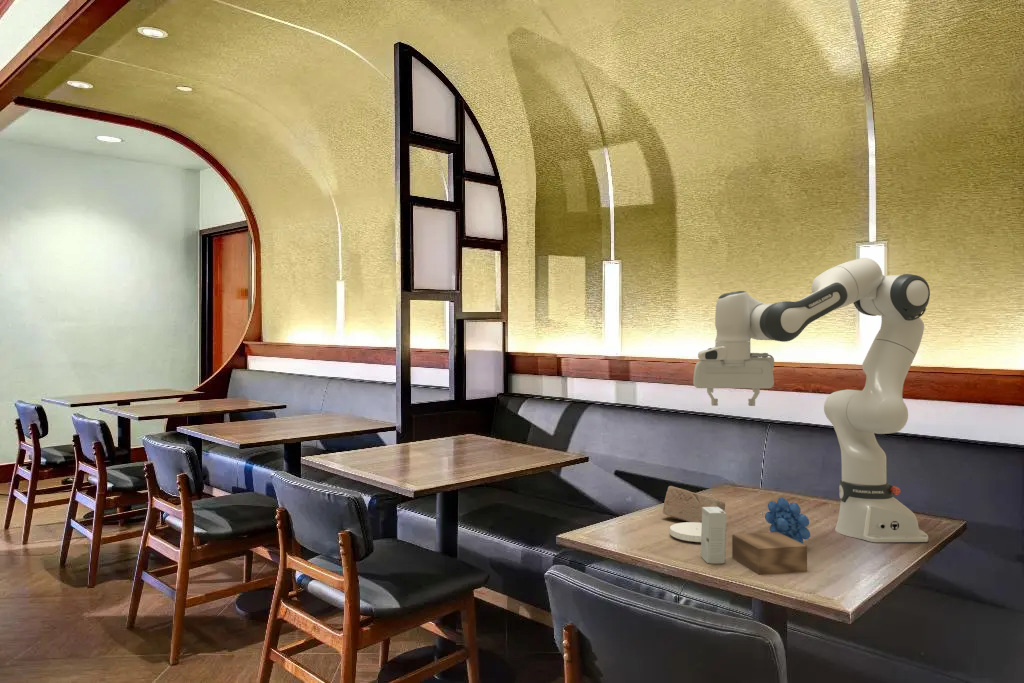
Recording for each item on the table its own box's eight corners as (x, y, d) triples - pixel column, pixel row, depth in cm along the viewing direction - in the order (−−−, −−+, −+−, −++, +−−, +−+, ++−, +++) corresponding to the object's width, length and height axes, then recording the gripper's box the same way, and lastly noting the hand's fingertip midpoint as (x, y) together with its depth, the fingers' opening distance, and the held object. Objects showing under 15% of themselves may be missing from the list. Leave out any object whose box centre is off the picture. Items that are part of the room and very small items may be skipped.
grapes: (757, 544, 185) (757, 497, 185) (769, 539, 190) (769, 493, 190) (802, 553, 177) (802, 505, 177) (813, 548, 182) (813, 500, 182)
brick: (726, 500, 201) (718, 498, 198) (719, 530, 200) (711, 528, 197) (675, 487, 213) (667, 484, 210) (668, 515, 212) (660, 513, 209)
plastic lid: (659, 538, 191) (659, 529, 191) (687, 528, 202) (687, 519, 201) (707, 549, 182) (707, 539, 182) (733, 538, 192) (733, 528, 192)
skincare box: (700, 556, 175) (700, 506, 175) (718, 556, 175) (718, 506, 175) (707, 564, 169) (708, 512, 169) (726, 564, 169) (727, 512, 169)
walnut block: (777, 556, 176) (777, 531, 176) (807, 572, 164) (807, 545, 164) (732, 559, 173) (732, 534, 173) (758, 575, 162) (758, 548, 162)
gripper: (771, 352, 191) (771, 404, 191) (692, 352, 194) (692, 404, 194) (776, 353, 185) (777, 407, 185) (694, 353, 188) (695, 406, 188)
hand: (733, 405), depth 190 cm, fingers open, 8 cm apart
